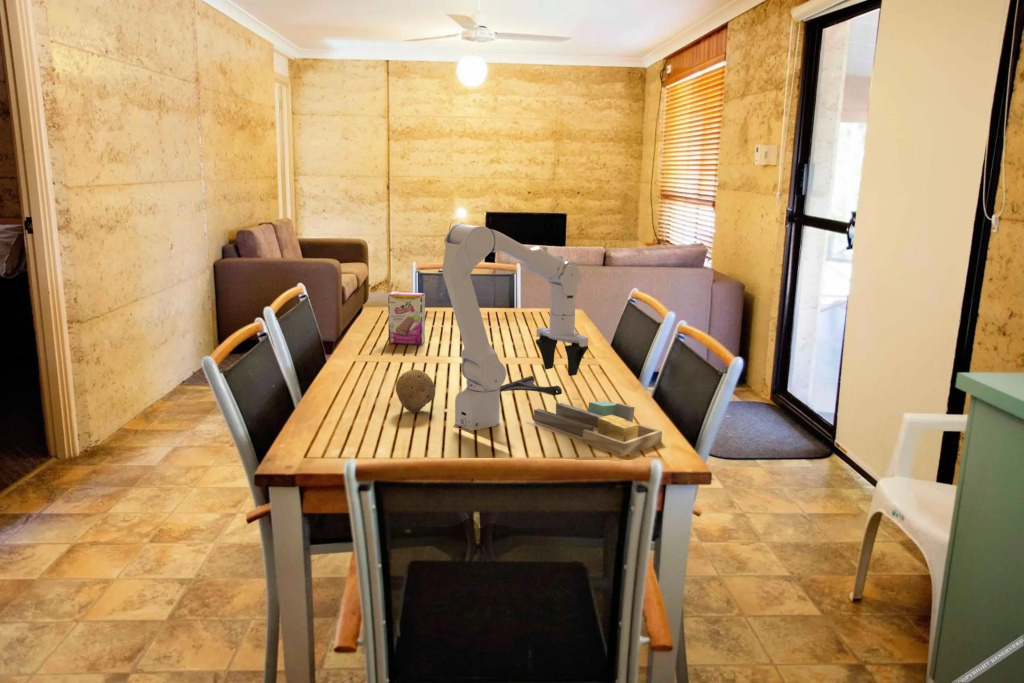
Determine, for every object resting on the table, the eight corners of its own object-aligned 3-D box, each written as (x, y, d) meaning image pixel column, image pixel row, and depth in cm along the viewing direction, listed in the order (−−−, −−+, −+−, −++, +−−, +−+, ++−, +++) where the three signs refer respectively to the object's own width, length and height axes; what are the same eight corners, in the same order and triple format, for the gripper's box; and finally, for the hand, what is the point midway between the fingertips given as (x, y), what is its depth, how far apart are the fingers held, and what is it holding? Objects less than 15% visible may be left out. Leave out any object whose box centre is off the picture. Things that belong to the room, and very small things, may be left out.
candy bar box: (388, 344, 249) (387, 293, 246) (392, 341, 254) (391, 291, 251) (422, 345, 248) (421, 294, 245) (425, 342, 253) (425, 292, 250)
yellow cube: (623, 447, 155) (624, 428, 155) (609, 441, 158) (610, 423, 158) (637, 443, 158) (638, 424, 157) (623, 438, 161) (624, 419, 160)
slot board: (622, 461, 151) (622, 444, 150) (526, 426, 170) (526, 411, 169) (662, 446, 159) (663, 430, 159) (567, 415, 179) (567, 400, 178)
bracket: (544, 403, 190) (544, 392, 190) (496, 392, 199) (496, 381, 198) (575, 391, 201) (576, 381, 201) (529, 381, 210) (529, 371, 210)
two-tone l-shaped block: (631, 428, 170) (614, 430, 166) (603, 419, 176) (586, 421, 172) (634, 407, 170) (618, 408, 166) (606, 399, 175) (589, 400, 171)
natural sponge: (416, 403, 186) (416, 363, 184) (443, 411, 180) (443, 369, 178) (388, 411, 179) (387, 370, 177) (415, 420, 173) (414, 376, 171)
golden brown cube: (610, 441, 159) (611, 422, 158) (597, 436, 162) (598, 417, 161) (624, 437, 161) (625, 419, 160) (611, 432, 164) (611, 414, 163)
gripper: (598, 316, 173) (595, 375, 176) (551, 307, 183) (550, 363, 186) (576, 319, 168) (574, 380, 171) (530, 310, 179) (529, 367, 181)
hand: (560, 371), depth 178 cm, fingers open, 7 cm apart
